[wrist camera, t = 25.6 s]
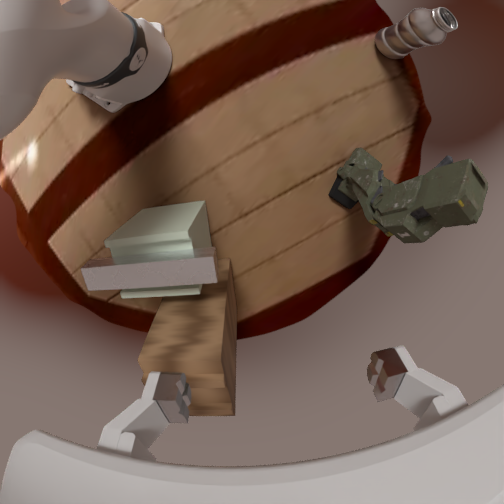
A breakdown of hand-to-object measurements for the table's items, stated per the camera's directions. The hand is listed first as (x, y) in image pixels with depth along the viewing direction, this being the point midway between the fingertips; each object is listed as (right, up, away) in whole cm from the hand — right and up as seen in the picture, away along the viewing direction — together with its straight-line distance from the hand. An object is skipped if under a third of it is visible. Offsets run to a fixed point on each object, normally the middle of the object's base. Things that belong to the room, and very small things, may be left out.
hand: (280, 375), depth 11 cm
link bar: (-15, +3, +24) cm, 29 cm away
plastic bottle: (+24, +44, +24) cm, 56 cm away
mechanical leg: (+18, +19, +35) cm, 44 cm away
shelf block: (-15, +10, +38) cm, 42 cm away
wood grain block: (-10, -2, +43) cm, 44 cm away
